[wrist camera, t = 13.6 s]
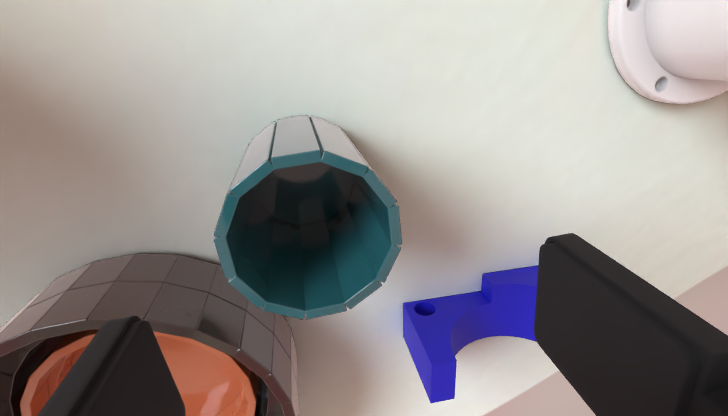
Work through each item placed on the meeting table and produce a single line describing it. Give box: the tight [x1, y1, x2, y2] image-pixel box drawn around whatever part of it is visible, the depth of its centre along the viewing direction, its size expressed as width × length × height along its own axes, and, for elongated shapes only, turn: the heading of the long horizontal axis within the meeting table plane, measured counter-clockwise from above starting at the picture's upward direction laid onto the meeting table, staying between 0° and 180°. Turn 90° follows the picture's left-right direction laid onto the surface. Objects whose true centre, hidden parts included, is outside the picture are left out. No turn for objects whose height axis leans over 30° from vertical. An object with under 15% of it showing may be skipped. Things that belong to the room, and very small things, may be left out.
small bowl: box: [20, 330, 259, 416], centre depth 24 cm, size 12×12×4 cm
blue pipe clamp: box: [403, 265, 539, 403], centre depth 26 cm, size 12×4×6 cm, turn 93°
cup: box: [214, 115, 402, 319], centre depth 19 cm, size 7×7×9 cm
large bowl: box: [0, 253, 299, 416], centre depth 23 cm, size 17×17×6 cm
